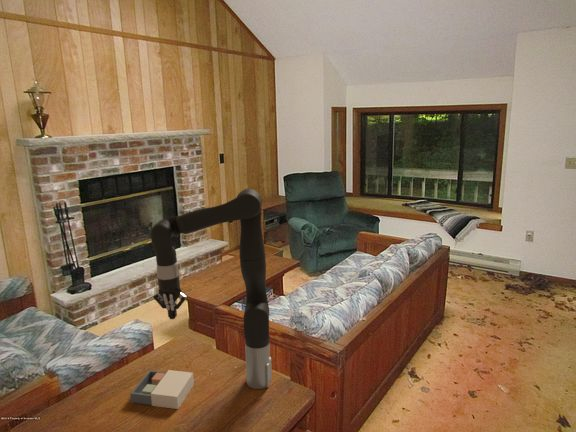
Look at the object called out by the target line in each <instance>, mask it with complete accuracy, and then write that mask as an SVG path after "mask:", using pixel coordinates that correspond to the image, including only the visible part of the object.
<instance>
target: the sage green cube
mask: <svg viewBox="0 0 576 432" xmlns="http://www.w3.org/2000/svg"><path fill="white" fill-rule="evenodd" d="M155 387H156V385H151V384H147V385H146V387H145V388H144V389H143V390H142V393H143V394H151V393H152V391H153V390H154V389H155Z"/></svg>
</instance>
